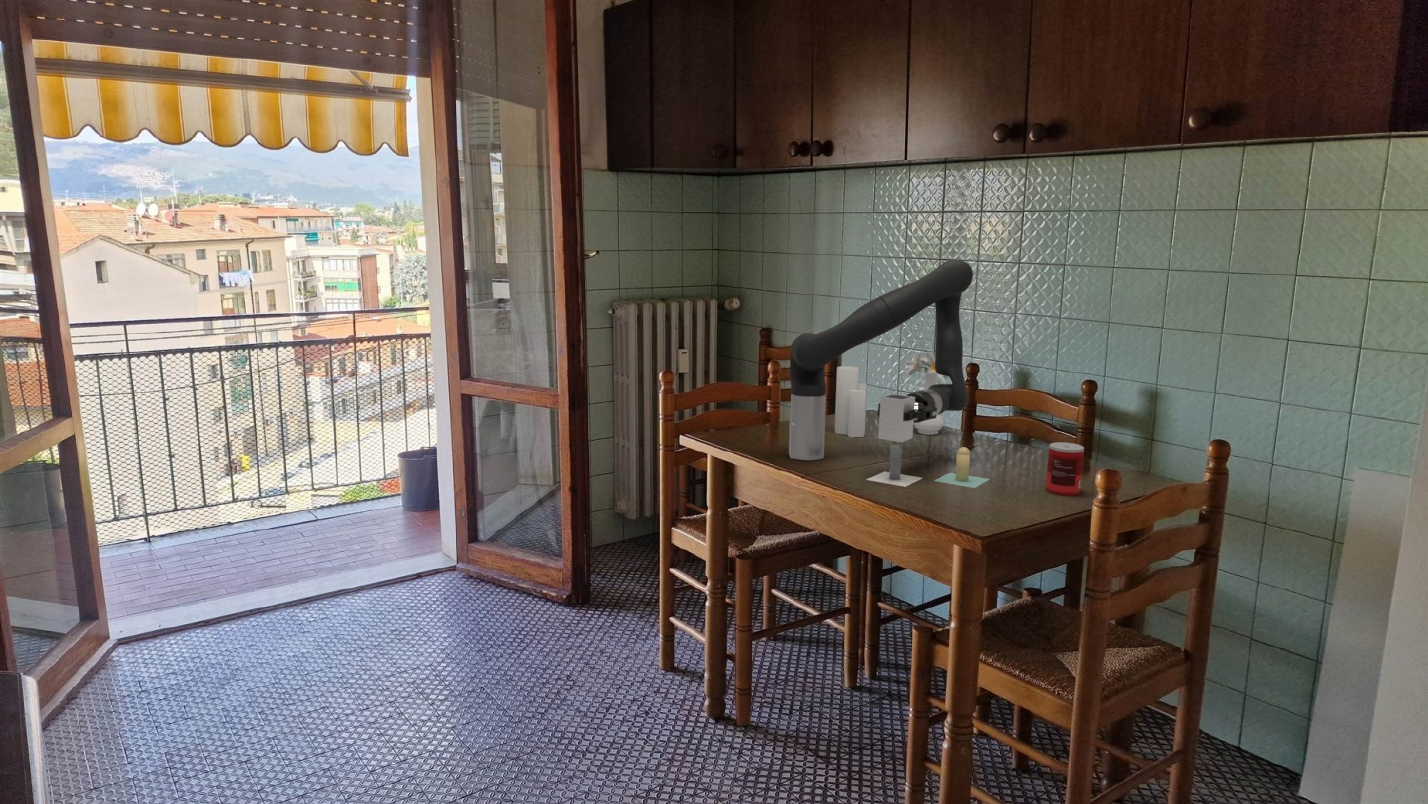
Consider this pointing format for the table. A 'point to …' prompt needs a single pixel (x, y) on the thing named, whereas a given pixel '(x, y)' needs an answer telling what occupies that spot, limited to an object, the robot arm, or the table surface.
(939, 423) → the flower vase
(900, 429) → the white sleeve
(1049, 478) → the canned food
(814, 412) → the robot arm
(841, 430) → the white joined cylinders
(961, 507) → the table surface
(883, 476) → the stand
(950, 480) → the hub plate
